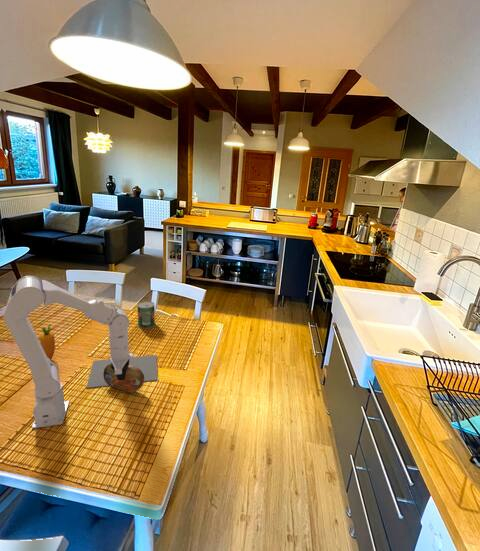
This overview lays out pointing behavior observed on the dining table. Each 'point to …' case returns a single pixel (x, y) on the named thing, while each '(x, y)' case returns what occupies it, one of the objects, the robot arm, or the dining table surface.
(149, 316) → the canned tomato
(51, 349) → the carrot
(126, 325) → the robot arm
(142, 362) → the mat
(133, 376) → the tin
